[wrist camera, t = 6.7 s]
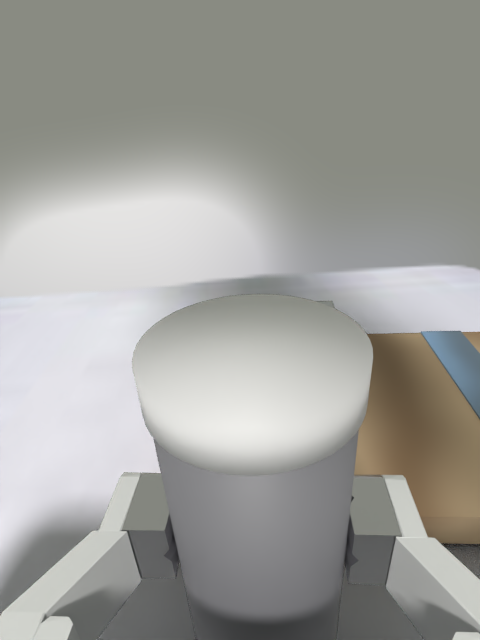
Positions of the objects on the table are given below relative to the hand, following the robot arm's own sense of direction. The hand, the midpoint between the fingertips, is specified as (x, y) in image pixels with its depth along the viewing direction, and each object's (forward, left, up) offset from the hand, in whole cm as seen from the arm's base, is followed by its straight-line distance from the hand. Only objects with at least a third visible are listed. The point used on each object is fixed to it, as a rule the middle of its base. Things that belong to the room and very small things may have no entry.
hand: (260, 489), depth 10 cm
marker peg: (0, -1, -6) cm, 6 cm away
